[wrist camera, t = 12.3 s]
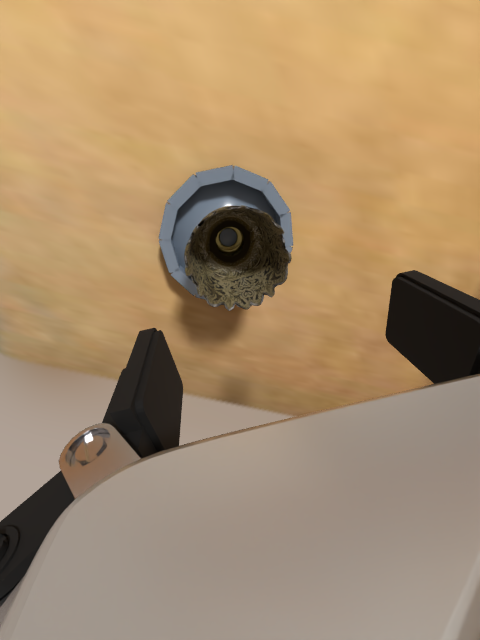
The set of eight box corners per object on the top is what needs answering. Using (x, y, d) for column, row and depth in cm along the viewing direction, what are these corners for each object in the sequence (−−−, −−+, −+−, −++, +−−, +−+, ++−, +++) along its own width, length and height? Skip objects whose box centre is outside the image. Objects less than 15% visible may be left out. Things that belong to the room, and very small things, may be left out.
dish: (279, 155, 23) (286, 154, 21) (289, 280, 29) (296, 288, 27) (144, 183, 23) (139, 184, 21) (183, 305, 29) (182, 314, 27)
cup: (174, 212, 23) (164, 232, 17) (252, 180, 23) (274, 187, 16) (207, 284, 27) (210, 325, 20) (275, 258, 27) (300, 291, 20)
